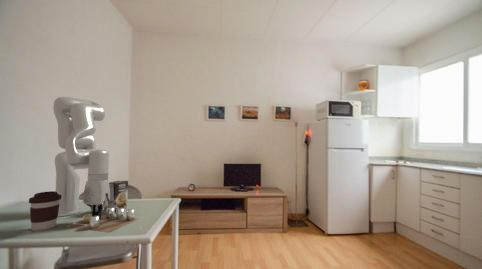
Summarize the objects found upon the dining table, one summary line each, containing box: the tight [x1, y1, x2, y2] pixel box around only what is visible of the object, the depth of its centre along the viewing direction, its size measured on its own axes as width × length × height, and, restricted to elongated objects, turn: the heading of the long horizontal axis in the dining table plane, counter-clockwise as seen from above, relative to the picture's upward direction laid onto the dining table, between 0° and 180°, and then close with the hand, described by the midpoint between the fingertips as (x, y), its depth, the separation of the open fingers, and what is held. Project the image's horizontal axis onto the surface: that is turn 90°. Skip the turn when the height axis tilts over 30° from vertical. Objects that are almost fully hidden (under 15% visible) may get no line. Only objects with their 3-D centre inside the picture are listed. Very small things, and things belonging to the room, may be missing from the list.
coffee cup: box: [28, 190, 62, 231], centre depth 87 cm, size 10×10×15 cm
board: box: [62, 214, 139, 234], centre depth 91 cm, size 24×16×1 cm, turn 76°
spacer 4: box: [125, 208, 135, 221], centre depth 95 cm, size 3×3×4 cm
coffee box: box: [103, 180, 129, 215], centre depth 108 cm, size 9×6×16 cm
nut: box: [82, 213, 92, 223], centre depth 93 cm, size 4×5×2 cm
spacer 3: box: [115, 208, 125, 220], centre depth 96 cm, size 3×3×4 cm
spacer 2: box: [106, 207, 116, 219], centre depth 98 cm, size 3×3×4 cm
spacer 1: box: [89, 215, 99, 229], centre depth 85 cm, size 3×3×4 cm
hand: (96, 219), depth 92 cm, fingers closed
